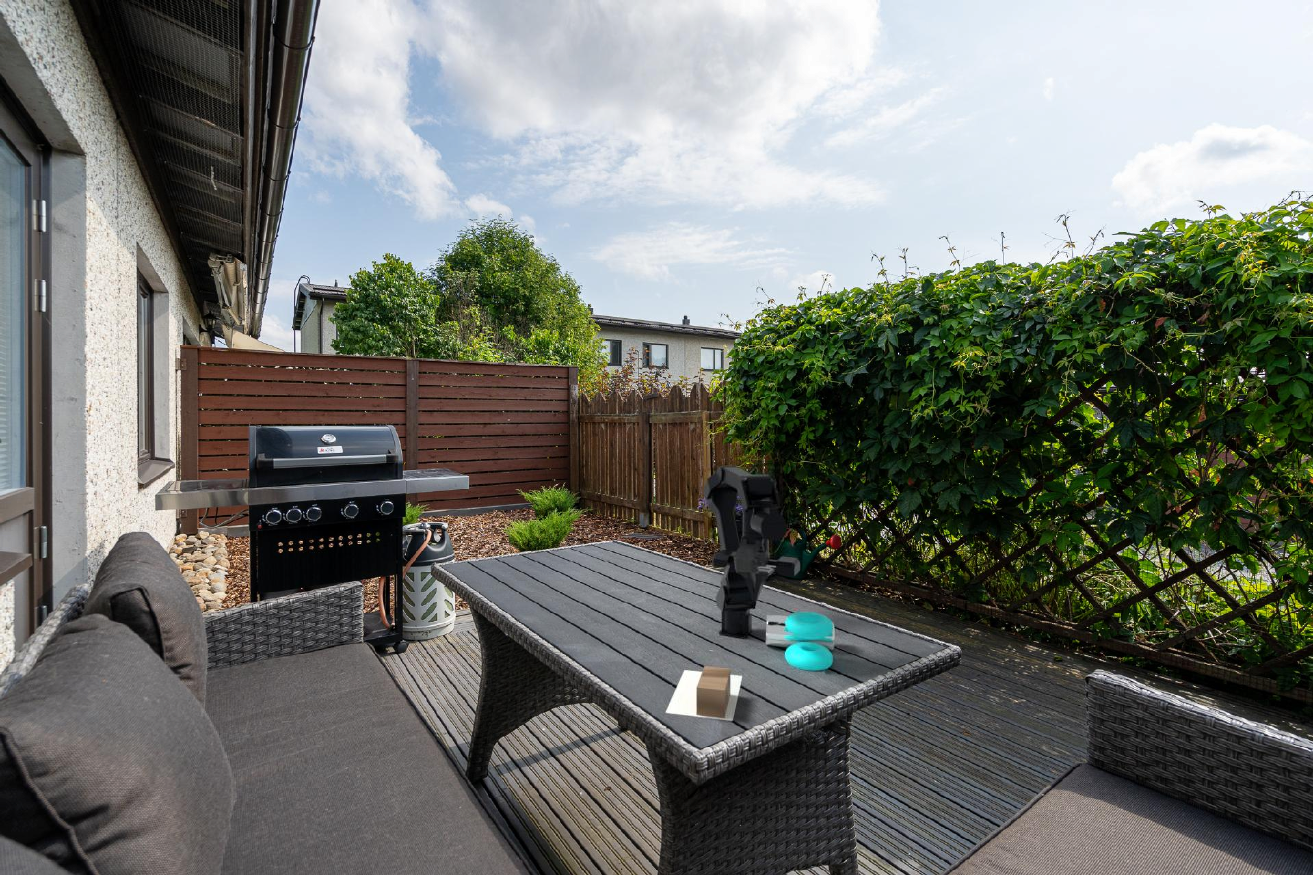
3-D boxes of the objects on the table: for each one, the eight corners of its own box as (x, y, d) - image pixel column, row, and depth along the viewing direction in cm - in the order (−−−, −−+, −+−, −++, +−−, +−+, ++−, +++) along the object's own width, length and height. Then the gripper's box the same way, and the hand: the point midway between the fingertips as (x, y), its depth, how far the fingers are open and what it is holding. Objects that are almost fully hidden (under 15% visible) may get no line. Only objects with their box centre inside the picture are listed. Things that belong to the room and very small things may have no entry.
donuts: (792, 626, 124) (780, 610, 134) (792, 674, 125) (779, 654, 135) (840, 625, 125) (824, 609, 135) (839, 673, 125) (824, 653, 135)
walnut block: (704, 666, 116) (696, 687, 107) (730, 668, 115) (724, 690, 106) (704, 691, 116) (696, 714, 107) (730, 694, 115) (724, 718, 106)
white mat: (684, 672, 126) (684, 670, 126) (742, 678, 123) (742, 675, 123) (665, 715, 108) (665, 712, 108) (732, 723, 105) (732, 720, 105)
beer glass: (830, 648, 141) (765, 642, 143) (831, 618, 142) (766, 612, 144) (834, 654, 134) (765, 647, 136) (835, 622, 135) (767, 616, 137)
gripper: (702, 534, 131) (702, 605, 132) (788, 542, 123) (787, 618, 123) (720, 525, 141) (720, 591, 142) (800, 532, 133) (800, 602, 133)
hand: (755, 600), depth 135 cm, fingers closed
